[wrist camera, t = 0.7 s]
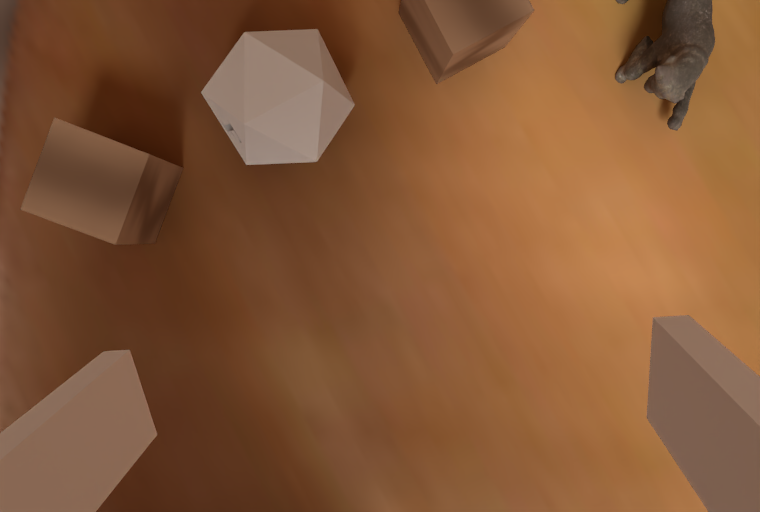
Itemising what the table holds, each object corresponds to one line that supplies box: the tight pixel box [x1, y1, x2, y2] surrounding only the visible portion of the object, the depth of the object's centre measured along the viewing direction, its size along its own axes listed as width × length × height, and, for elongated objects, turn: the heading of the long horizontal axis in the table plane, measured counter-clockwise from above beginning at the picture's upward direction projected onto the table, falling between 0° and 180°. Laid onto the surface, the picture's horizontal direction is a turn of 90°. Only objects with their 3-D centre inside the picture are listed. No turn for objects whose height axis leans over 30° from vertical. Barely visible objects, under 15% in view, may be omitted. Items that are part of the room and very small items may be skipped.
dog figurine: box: [616, 0, 715, 130], centre depth 34 cm, size 12×6×7 cm, turn 174°
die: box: [201, 29, 355, 165], centre depth 32 cm, size 8×9×10 cm
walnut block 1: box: [20, 118, 183, 245], centre depth 32 cm, size 6×6×6 cm
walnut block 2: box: [399, 0, 534, 84], centre depth 33 cm, size 6×6×6 cm
